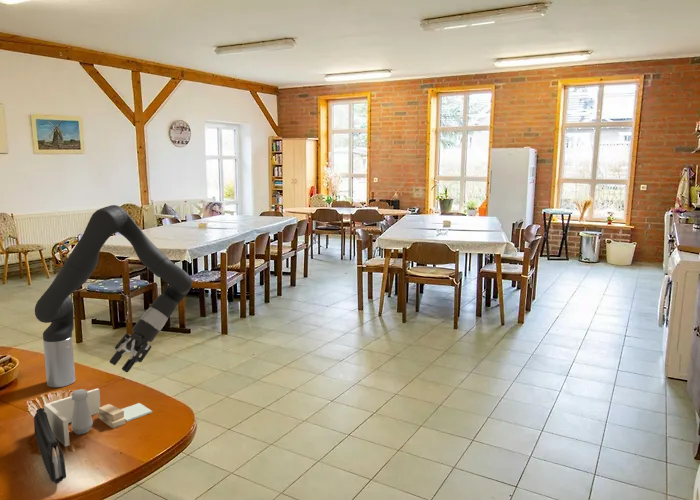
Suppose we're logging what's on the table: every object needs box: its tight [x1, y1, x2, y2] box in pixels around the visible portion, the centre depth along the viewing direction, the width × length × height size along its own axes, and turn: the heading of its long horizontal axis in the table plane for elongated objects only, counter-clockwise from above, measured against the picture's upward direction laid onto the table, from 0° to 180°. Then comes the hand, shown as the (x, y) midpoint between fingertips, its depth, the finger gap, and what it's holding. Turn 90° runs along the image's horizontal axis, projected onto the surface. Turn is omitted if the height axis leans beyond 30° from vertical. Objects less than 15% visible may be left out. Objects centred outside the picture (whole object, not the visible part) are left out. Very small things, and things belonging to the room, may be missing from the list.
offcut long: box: [97, 413, 127, 429], centre depth 165 cm, size 10×4×2 cm, turn 50°
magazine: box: [33, 407, 67, 484], centre depth 142 cm, size 17×3×30 cm
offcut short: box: [98, 403, 124, 422], centre depth 165 cm, size 8×4×2 cm, turn 57°
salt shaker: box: [71, 388, 94, 435], centre depth 158 cm, size 6×6×13 cm
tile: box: [120, 402, 153, 422], centre depth 170 cm, size 8×8×1 cm
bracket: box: [43, 388, 102, 448], centre depth 160 cm, size 15×16×8 cm
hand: (117, 367), depth 165 cm, fingers open, 8 cm apart
